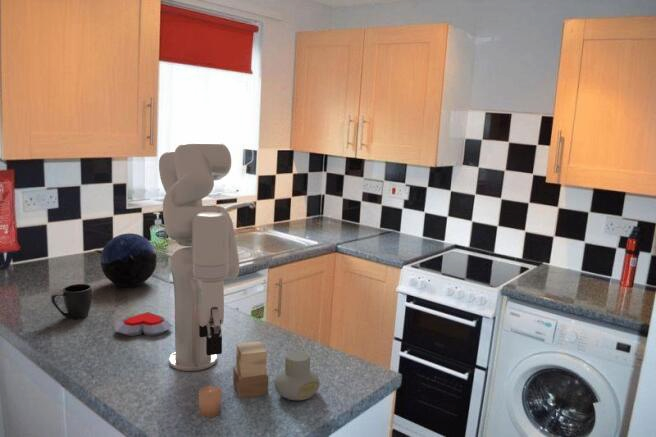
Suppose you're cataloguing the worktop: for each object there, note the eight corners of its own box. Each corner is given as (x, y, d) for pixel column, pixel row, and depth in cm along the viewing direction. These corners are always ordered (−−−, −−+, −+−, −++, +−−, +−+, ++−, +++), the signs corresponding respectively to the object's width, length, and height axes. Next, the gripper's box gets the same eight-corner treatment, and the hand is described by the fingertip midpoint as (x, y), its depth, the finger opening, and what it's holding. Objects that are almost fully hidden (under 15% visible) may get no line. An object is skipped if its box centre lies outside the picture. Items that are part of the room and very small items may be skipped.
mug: (47, 318, 167) (45, 289, 165) (86, 309, 176) (84, 282, 174) (57, 326, 162) (56, 296, 160) (97, 316, 170) (95, 288, 169)
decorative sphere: (130, 274, 215) (129, 226, 211) (168, 283, 206) (167, 233, 203) (89, 287, 197) (87, 235, 193) (129, 297, 189) (127, 243, 185)
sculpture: (121, 320, 169) (110, 340, 154) (121, 309, 168) (109, 327, 154) (176, 319, 172) (170, 338, 157) (176, 308, 171) (169, 327, 156)
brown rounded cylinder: (197, 407, 121) (197, 387, 120) (218, 404, 123) (218, 384, 122) (200, 418, 117) (200, 398, 116) (222, 415, 119) (222, 394, 118)
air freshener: (302, 381, 136) (304, 344, 134) (324, 394, 130) (326, 356, 128) (268, 394, 128) (269, 356, 126) (289, 409, 122) (291, 369, 120)
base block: (233, 384, 132) (233, 366, 131) (260, 380, 135) (260, 362, 134) (239, 398, 126) (239, 379, 125) (267, 394, 129) (268, 375, 128)
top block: (236, 366, 131) (236, 343, 130) (260, 363, 133) (260, 341, 132) (241, 377, 126) (241, 354, 125) (266, 374, 128) (266, 351, 127)
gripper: (187, 260, 120) (187, 331, 123) (198, 283, 104) (198, 364, 107) (220, 258, 123) (219, 328, 126) (236, 280, 107) (235, 359, 110)
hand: (210, 344), depth 117 cm, fingers open, 9 cm apart
